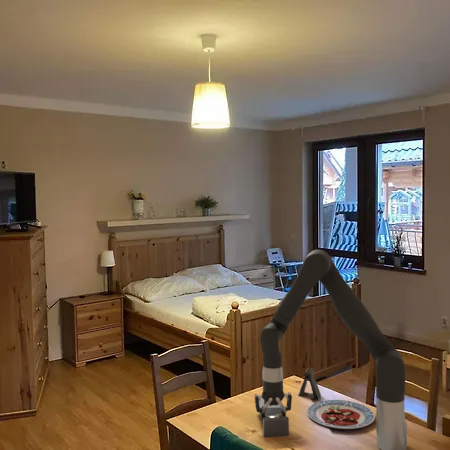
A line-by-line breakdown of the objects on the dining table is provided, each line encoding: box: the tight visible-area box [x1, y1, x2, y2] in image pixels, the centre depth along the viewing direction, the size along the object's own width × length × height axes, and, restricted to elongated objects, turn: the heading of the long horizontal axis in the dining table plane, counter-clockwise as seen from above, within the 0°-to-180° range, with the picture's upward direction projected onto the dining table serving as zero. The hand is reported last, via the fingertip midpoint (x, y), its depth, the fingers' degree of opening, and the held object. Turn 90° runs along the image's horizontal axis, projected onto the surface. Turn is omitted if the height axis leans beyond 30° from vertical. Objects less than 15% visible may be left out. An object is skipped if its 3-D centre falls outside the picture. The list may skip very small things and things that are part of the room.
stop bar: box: [262, 416, 290, 438], centre depth 180 cm, size 9×2×7 cm, turn 94°
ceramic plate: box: [306, 399, 376, 430], centre depth 195 cm, size 26×26×3 cm
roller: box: [265, 414, 283, 418], centre depth 183 cm, size 7×4×4 cm, turn 94°
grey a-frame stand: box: [298, 367, 322, 401], centre depth 216 cm, size 9×6×12 cm, turn 70°
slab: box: [258, 398, 282, 416], centre depth 194 cm, size 9×12×2 cm
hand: (273, 421), depth 185 cm, fingers closed on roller, 6 cm apart
